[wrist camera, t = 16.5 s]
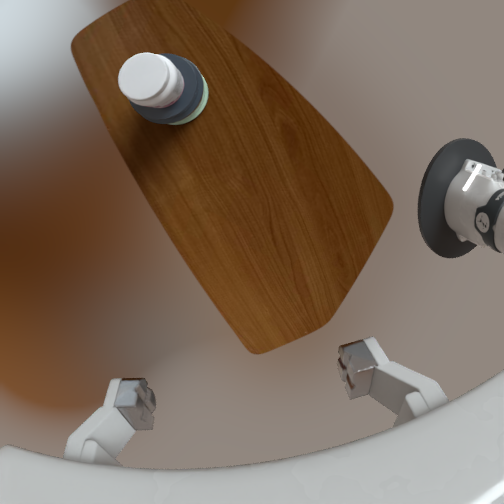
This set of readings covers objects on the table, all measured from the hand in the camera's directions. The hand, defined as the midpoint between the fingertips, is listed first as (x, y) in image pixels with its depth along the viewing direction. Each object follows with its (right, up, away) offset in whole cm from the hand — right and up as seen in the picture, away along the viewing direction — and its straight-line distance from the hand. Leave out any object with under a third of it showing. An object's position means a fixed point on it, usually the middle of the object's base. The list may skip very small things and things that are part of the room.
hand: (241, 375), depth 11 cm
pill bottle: (-9, +22, +15) cm, 28 cm away
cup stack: (-10, +27, +25) cm, 38 cm away
